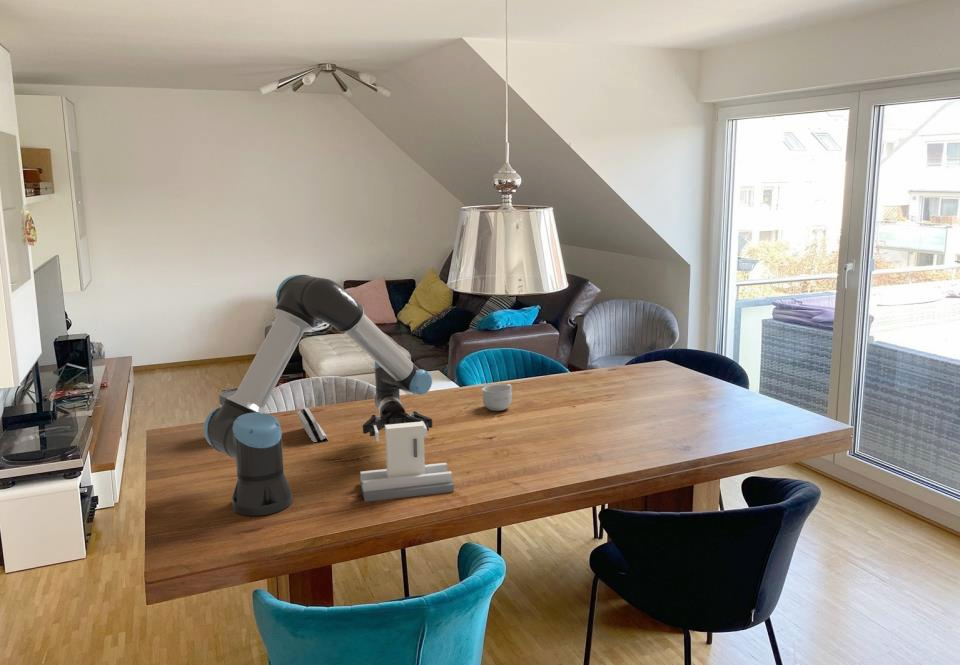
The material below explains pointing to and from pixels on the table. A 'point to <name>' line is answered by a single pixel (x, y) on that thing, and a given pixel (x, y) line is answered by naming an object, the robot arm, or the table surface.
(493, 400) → the teacup
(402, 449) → the door panel
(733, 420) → the table surface
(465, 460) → the table surface
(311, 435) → the white and black console
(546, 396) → the table surface
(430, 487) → the track
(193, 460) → the table surface
